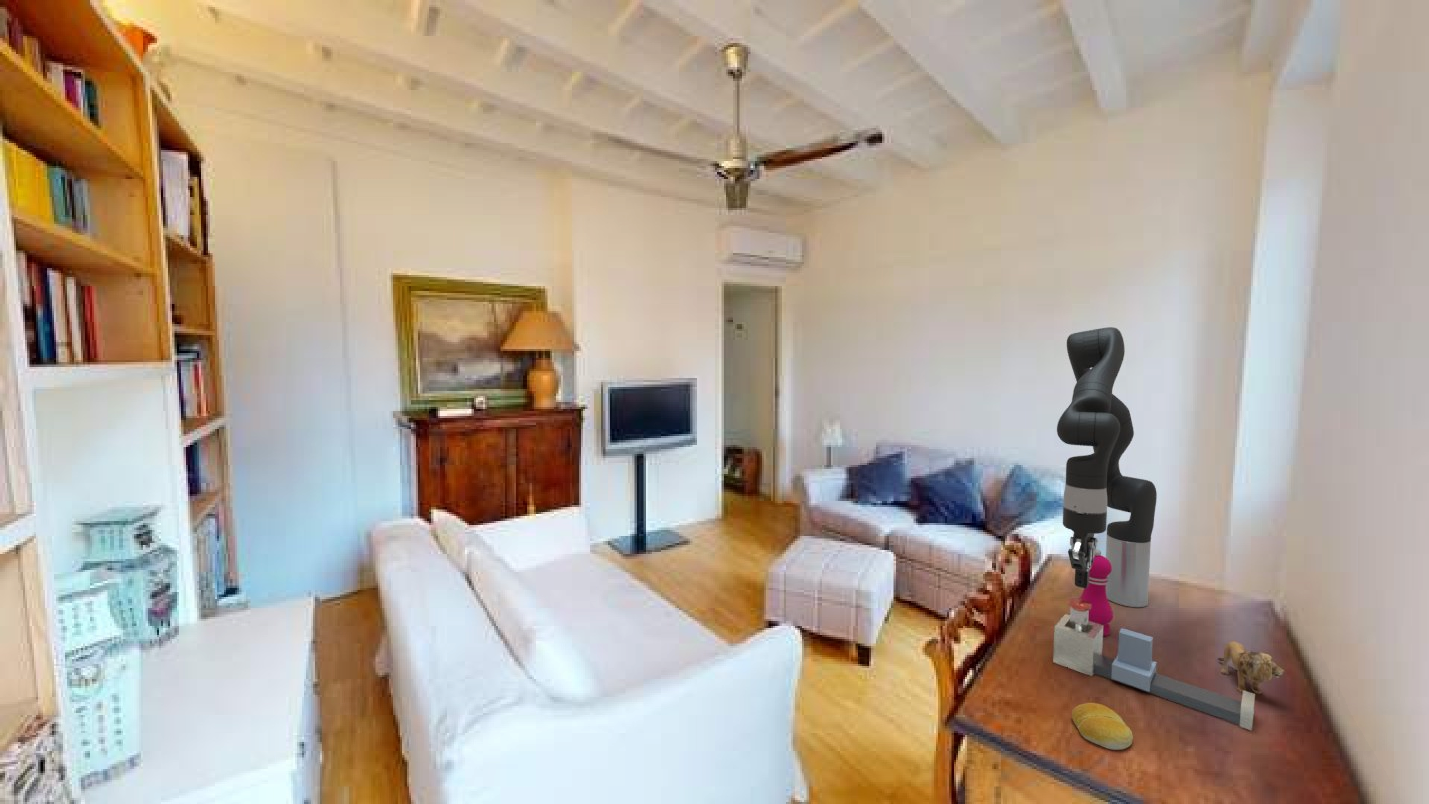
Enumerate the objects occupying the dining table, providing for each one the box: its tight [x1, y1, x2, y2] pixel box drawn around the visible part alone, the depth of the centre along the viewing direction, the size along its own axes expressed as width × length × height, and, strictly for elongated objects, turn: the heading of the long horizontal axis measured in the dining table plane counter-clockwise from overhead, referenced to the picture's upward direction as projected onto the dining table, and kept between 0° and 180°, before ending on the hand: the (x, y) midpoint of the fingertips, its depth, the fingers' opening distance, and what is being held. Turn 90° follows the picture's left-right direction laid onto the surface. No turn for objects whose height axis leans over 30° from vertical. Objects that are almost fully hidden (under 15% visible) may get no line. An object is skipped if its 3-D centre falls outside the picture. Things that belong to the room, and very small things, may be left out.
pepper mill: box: [1079, 548, 1114, 637], centre depth 126 cm, size 7×7×20 cm
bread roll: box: [1071, 702, 1134, 751], centre depth 92 cm, size 8×9×4 cm
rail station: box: [1052, 613, 1256, 732], centre depth 105 cm, size 8×30×8 cm, turn 42°
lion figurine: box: [1217, 640, 1285, 695], centre depth 105 cm, size 15×5×9 cm, turn 165°
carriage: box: [1110, 628, 1158, 693], centre depth 106 cm, size 7×6×9 cm
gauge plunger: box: [1068, 597, 1091, 632], centre depth 113 cm, size 4×4×6 cm
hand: (1081, 586), depth 112 cm, fingers closed
